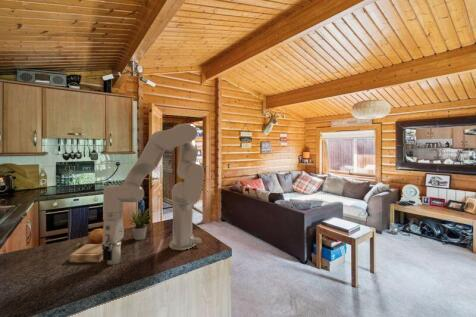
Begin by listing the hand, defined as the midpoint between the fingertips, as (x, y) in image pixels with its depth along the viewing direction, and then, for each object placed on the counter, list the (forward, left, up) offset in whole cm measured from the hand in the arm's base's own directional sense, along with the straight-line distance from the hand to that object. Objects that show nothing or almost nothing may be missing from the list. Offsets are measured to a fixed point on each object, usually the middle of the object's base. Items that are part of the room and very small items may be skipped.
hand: (112, 255), depth 104 cm
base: (+12, -6, -3) cm, 14 cm away
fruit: (+17, -21, -3) cm, 27 cm away
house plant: (-3, -28, -3) cm, 29 cm away
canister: (0, 0, -3) cm, 3 cm away
